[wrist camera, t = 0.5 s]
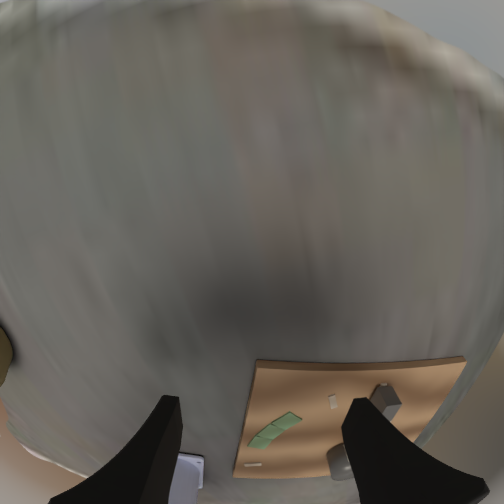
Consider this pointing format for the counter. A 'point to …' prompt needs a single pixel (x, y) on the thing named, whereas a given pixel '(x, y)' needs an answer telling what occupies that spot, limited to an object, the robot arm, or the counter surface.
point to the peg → (337, 456)
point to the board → (329, 409)
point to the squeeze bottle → (4, 355)
